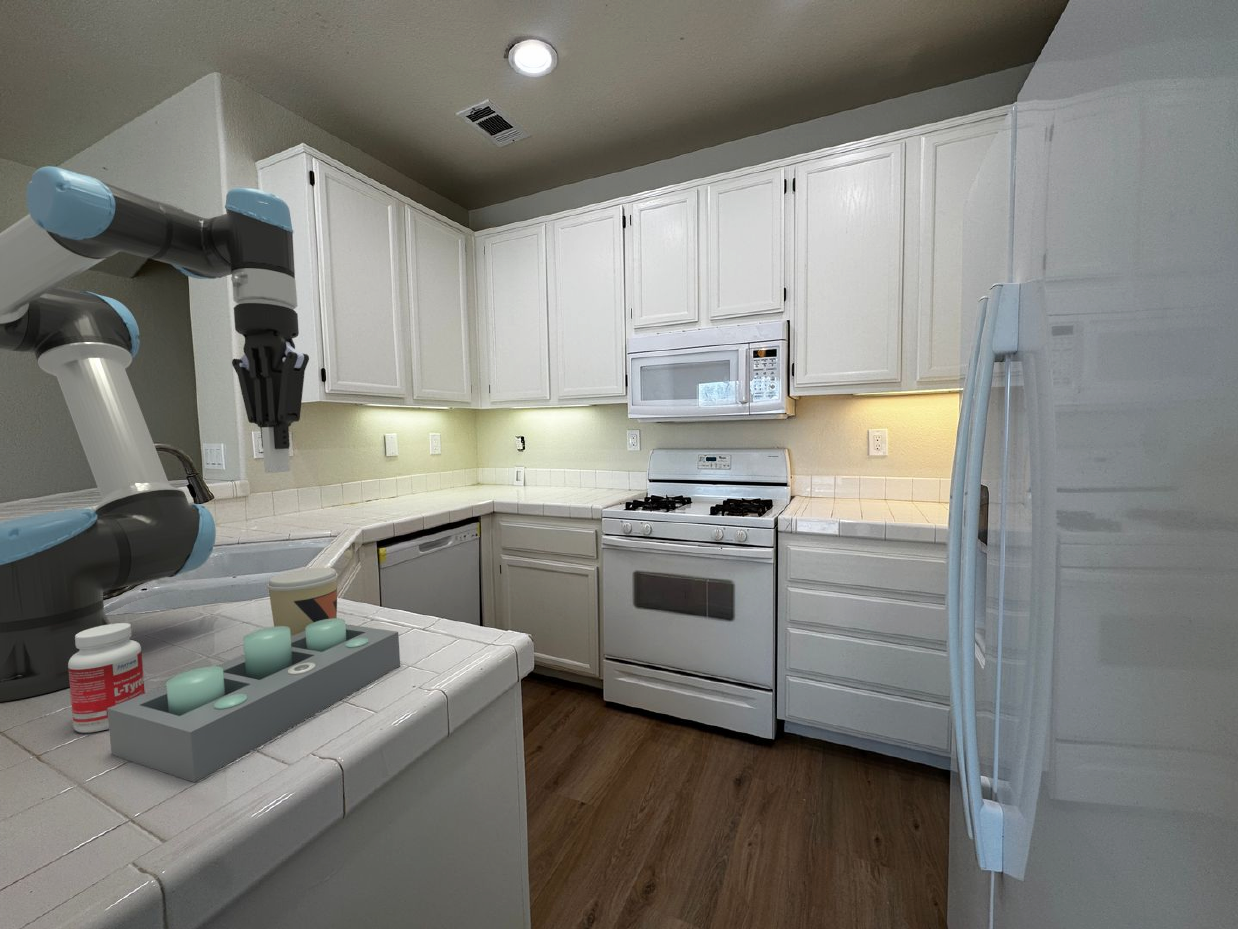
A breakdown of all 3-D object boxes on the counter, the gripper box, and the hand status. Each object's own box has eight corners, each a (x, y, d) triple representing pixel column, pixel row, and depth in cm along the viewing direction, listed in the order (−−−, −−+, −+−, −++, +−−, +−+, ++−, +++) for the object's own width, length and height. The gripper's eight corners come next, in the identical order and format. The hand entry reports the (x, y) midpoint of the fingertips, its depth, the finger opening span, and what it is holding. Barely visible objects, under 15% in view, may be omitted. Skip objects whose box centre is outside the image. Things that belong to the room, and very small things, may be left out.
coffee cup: (308, 665, 74) (302, 584, 74) (257, 660, 76) (251, 581, 76) (355, 640, 83) (351, 567, 83) (308, 636, 86) (303, 566, 85)
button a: (159, 728, 55) (155, 683, 55) (209, 705, 59) (205, 664, 59) (187, 736, 53) (183, 689, 53) (236, 712, 58) (232, 669, 57)
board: (111, 754, 54) (107, 706, 54) (329, 653, 78) (327, 620, 78) (194, 782, 49) (190, 730, 49) (400, 665, 73) (398, 630, 73)
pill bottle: (123, 730, 59) (114, 636, 58) (58, 739, 57) (49, 642, 57) (158, 703, 65) (151, 617, 64) (100, 710, 63) (92, 623, 63)
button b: (236, 678, 62) (233, 638, 62) (275, 662, 67) (273, 624, 66) (263, 684, 61) (260, 643, 60) (301, 666, 65) (298, 628, 65)
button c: (299, 664, 70) (297, 628, 70) (330, 650, 74) (328, 616, 74) (324, 669, 68) (322, 632, 68) (355, 654, 73) (353, 620, 72)
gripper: (207, 306, 71) (220, 474, 73) (271, 294, 67) (283, 474, 68) (261, 317, 78) (272, 470, 80) (322, 307, 74) (333, 470, 75)
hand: (277, 472), depth 74 cm, fingers closed
